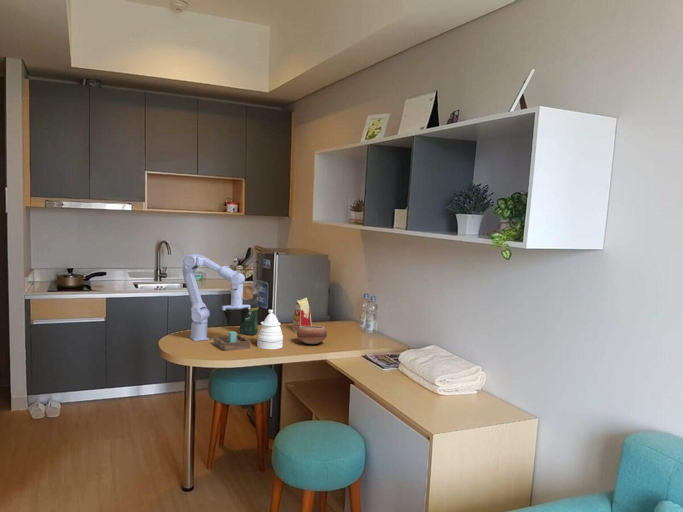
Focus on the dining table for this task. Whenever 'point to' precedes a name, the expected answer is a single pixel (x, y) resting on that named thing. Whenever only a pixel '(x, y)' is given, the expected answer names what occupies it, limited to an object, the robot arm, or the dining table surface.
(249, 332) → the coffee jar
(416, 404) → the dining table surface
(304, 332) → the bowl
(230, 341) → the peg
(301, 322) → the milk carton
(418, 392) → the dining table surface
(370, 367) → the dining table surface
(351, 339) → the dining table surface
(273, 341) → the honey pot
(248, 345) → the socket box
